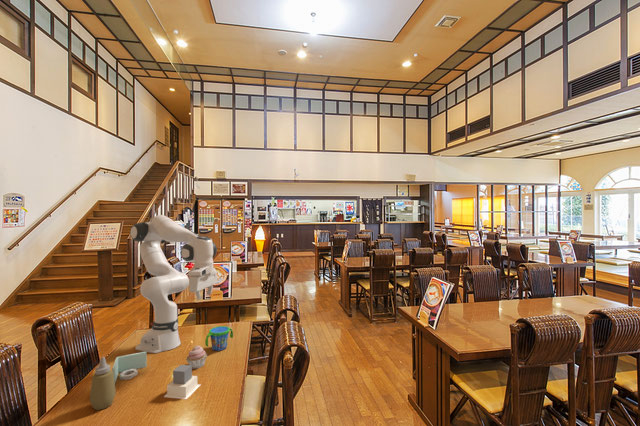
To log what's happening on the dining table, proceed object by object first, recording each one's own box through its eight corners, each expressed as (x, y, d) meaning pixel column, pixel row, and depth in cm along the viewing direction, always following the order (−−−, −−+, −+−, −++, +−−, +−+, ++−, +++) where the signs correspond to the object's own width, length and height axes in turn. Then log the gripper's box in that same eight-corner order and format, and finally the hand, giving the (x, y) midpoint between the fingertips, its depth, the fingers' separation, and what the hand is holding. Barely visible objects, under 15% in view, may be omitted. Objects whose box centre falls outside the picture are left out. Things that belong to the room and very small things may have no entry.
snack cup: (228, 341, 171) (228, 323, 171) (237, 346, 163) (237, 328, 163) (201, 349, 160) (201, 330, 160) (209, 356, 152) (209, 336, 152)
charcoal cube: (173, 383, 119) (172, 370, 119) (180, 376, 124) (180, 364, 124) (184, 384, 118) (184, 371, 118) (191, 377, 123) (191, 365, 123)
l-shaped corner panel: (112, 386, 127) (112, 368, 127) (116, 373, 138) (116, 357, 138) (144, 379, 132) (144, 362, 132) (146, 367, 143) (146, 351, 143)
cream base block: (167, 395, 118) (167, 385, 118) (179, 384, 126) (179, 374, 126) (185, 397, 116) (185, 386, 116) (197, 385, 124) (197, 376, 124)
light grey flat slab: (148, 400, 116) (148, 398, 116) (171, 380, 130) (171, 379, 130) (190, 404, 113) (190, 402, 113) (210, 384, 127) (210, 382, 127)
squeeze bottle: (98, 399, 117) (98, 353, 117) (120, 398, 118) (120, 352, 118) (84, 413, 109) (83, 363, 109) (107, 411, 109) (107, 362, 110)
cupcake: (196, 373, 136) (196, 351, 136) (181, 369, 139) (181, 347, 140) (211, 364, 144) (211, 343, 144) (197, 360, 148) (197, 340, 148)
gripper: (209, 265, 160) (209, 291, 160) (186, 272, 140) (186, 302, 139) (220, 265, 159) (220, 291, 159) (198, 273, 139) (198, 302, 138)
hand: (204, 296), depth 149 cm, fingers open, 8 cm apart
